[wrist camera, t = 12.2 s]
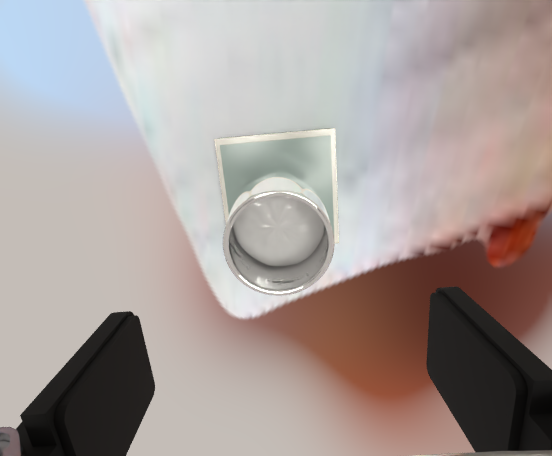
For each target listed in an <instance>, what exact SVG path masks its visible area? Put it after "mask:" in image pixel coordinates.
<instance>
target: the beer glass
mask: <svg viewBox="0 0 552 456" xmlns="http://www.w3.org/2000/svg"><path fill="white" fill-rule="evenodd" d="M223 250H224V255H225V258H226V261H227V264H228V266H229V268H230V269H231V271H232V272H233V274H234V275H235V276H236V277H237V278H238V279H239V280H240V281H241V282H242V283H243V284H245V285H246V286H248V287H249V288H251V289H253V290H255V291H257V292H260V293H264V294H268V295H289V294H294V293H297V292H300V291H302V290H304V289H306V288H308V287H310V286H311V285H313V284H314V283H315V282H316V281H318V280H319V279H320V278H321V276H322V275H323V274H324V273H325V271H326V270H327V268H328V266H329V264H330V262H331V259H332V256H333V252H334V234H333V230H332V226H331V224H330V220H329V216H328V213H327V211H326V208H325V206H324V204H323V202H322V200H321V198H320V197H319V196H318V194H317V193H316V192H315V191H314V189H313V188H312V187H311V186H309V185H308V184H307V183H306V182H305V180H304V178H303V177H302V176H301V175H300V174H299V173H298V172H297V171H296V170H294V169H292V168H290V167H287V166H283V165H274V166H269V167H267V168H265V169H263V170H261V171H260V172H259V173H258V174H257V175H256V176H255V177H254V178H253V180H252V182H251V183H250V184H249V185H248V186H247V187H246V188H245V189H244V190H243V191H242V192H241V193H240V195H239V196H238V197H237V199H236V200H235V202H234V204H233V206H232V209H231V211H230V214H229V217H228V221H227V225H226V227H225V231H224V236H223Z"/></svg>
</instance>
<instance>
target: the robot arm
mask: <svg viewBox="0 0 552 456" xmlns="http://www.w3.org/2000/svg"><path fill="white" fill-rule="evenodd" d="M427 370H428V374H429V376H430V378H431V380H432V381H433V383H434V385H435V386H436V388H437V390H438V391H439V393H440V394H441V396H442V398H443V399H444V401H445V403H446V404H447V406H448V408H449V409H450V411H451V413H452V414H453V416H454V417H455V419H456V421H457V422H458V424H459V426H460V427H461V429H462V430H463V432H464V434H465V435H466V437H467V439H468V440H469V442H470V444H471V445H472V447H473V449H474V450H475V453H452V454H432V455H414V456H552V370H551V369H550V368H549V367H548V366H547V365H546V364H545V363H543V362H542V361H541V360H540V359H539V358H538V357H537V356H536V355H534V354H533V353H532V352H531V351H530V350H529V349H528V348H527V347H525V346H524V345H523V344H522V343H521V342H520V341H519V340H518V339H516V338H515V337H514V336H513V335H512V334H511V333H510V332H508V331H507V330H506V329H505V328H504V327H503V326H502V325H501V324H500V323H498V322H497V321H496V320H495V319H494V318H493V317H491V315H489V314H488V313H487V312H486V311H485V310H484V309H483V308H481V307H480V306H479V305H478V304H477V303H476V302H475V301H474V300H472V299H471V298H470V297H469V296H468V295H467V294H466V293H465V292H463V291H462V290H461V289H460V288H459V287H445V288H438V289H437V290H436V292H435V293H432V294H431V296H430V312H429V330H428V348H427ZM154 391H155V383H154V379H153V374H152V370H151V366H150V362H149V357H148V354H147V349H146V345H145V341H144V336H143V332H142V328H141V324H140V320H139V317H138V316H134V314H133V313H132V312H130V311H129V312H117V313H111V314H110V315H109V316H108V317H107V318H106V320H105V321H104V322H103V323H102V324H101V325H100V326H99V327H98V329H97V330H96V331H95V332H94V333H93V334H92V335H91V337H90V338H89V339H88V340H87V341H86V342H85V343H84V344H83V345H82V347H81V348H80V349H79V350H78V351H77V352H76V353H75V354H74V356H73V357H72V358H71V359H70V360H69V361H68V362H67V363H66V365H65V366H64V367H63V368H62V369H61V370H60V371H59V373H58V374H57V375H56V376H55V377H54V378H53V379H52V380H51V381H50V382H49V384H48V385H47V386H46V387H45V388H44V389H43V390H42V391H41V393H40V394H39V395H38V396H37V397H36V398H35V399H34V401H33V402H32V403H31V404H30V405H29V406H28V407H27V408H26V410H25V411H24V412H23V413H22V414H21V415H20V416H21V419H22V421H23V422H22V423H21V424H20V425H19V426H18V427H17V429H14V428H11V427H0V456H126V454H127V452H128V450H129V448H130V445H131V443H132V441H133V439H134V437H135V434H136V432H137V430H138V428H139V426H140V424H141V421H142V419H143V417H144V415H145V413H146V411H147V408H148V406H149V404H150V402H151V400H152V397H153V395H154Z"/></svg>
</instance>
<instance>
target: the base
mask: <svg viewBox="0 0 552 456" xmlns="http://www.w3.org/2000/svg"><path fill="white" fill-rule="evenodd" d="M214 141H215V148H216V155H217V163H218V170H219V177H220V185H221V192H222V199H223V207H224V214H225V222H226V225H227V221H228V217H229V214H230V211H231V209H232V206H233V204H234V202H235V200H236V199H237V197H238V196H239V195H240V193H241V192H242V191H243V190H244V189H245V188H246V187H247V186H248V185H249V184H250V183H251V182H252V180H253V178H254V177H255V176H256V175H257V174H258V173H259V172H260V171H261V170H263V169H265V168H267V167H269V166H274V165H283V166H287V167H290V168H292V169H294V170H296V171H297V172H298V173H299V174H300V175H301V176H302V177H303V178H304V180H305V182H306V183H307V184H308V185H309V186H311V187H312V188H313V189H314V191H315V192H316V193H317V194H318V196H319V197H320V198H321V200H322V202H323V204H324V206H325V208H326V211H327V213H328V216H329V220H330V224H331V226H332V230H333V234H334V243H339V229H338V199H337V168H336V138H335V128H328V129H317V130H306V131H295V132H284V133H273V134H262V135H250V136H239V137H228V138H218V139H214Z"/></svg>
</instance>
